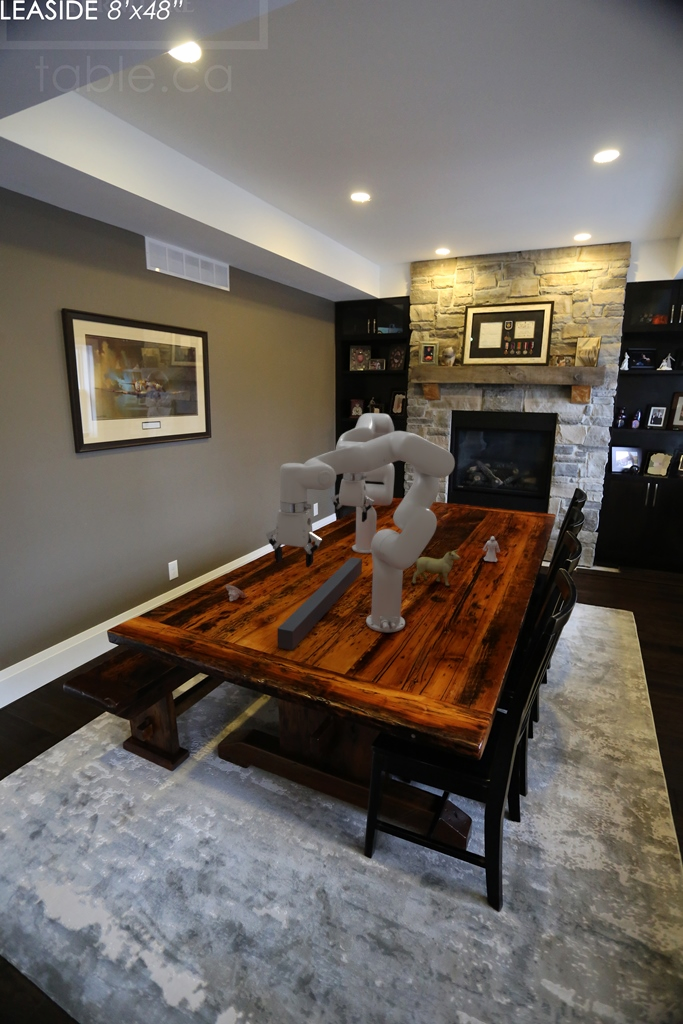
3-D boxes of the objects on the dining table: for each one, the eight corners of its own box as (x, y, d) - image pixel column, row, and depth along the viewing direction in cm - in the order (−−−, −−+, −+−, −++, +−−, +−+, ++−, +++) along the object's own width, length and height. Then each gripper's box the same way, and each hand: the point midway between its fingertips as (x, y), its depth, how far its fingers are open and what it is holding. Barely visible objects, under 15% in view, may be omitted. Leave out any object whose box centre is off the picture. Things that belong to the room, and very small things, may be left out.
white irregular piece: (231, 609, 179) (216, 592, 179) (241, 599, 183) (227, 583, 182) (239, 604, 173) (224, 587, 172) (250, 595, 177) (235, 577, 176)
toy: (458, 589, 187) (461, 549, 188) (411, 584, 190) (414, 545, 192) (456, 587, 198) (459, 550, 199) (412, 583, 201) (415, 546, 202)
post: (292, 650, 145) (292, 631, 144) (277, 647, 147) (277, 628, 145) (361, 572, 207) (362, 558, 206) (350, 571, 209) (350, 557, 207)
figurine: (481, 562, 222) (483, 536, 219) (482, 556, 230) (484, 531, 227) (499, 564, 220) (501, 538, 217) (499, 558, 228) (501, 533, 225)
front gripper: (326, 506, 143) (326, 563, 147) (272, 501, 148) (273, 555, 153) (316, 512, 136) (316, 571, 140) (260, 506, 142) (261, 563, 146)
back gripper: (377, 477, 192) (375, 520, 196) (335, 473, 198) (334, 515, 202) (372, 480, 185) (370, 524, 189) (328, 476, 191) (327, 519, 195)
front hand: (293, 563), depth 146 cm, fingers open, 9 cm apart
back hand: (352, 519), depth 196 cm, fingers open, 9 cm apart
